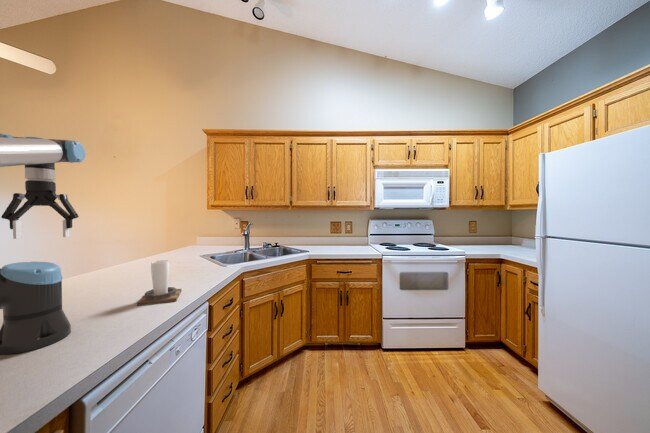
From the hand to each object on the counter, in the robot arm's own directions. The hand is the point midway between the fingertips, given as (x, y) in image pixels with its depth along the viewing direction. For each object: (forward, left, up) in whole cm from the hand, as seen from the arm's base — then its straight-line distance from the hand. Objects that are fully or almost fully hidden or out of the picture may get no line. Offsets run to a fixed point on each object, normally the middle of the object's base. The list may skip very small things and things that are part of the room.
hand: (42, 237), depth 95 cm
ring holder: (+3, -37, -29) cm, 47 cm away
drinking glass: (+3, -37, -28) cm, 46 cm away
